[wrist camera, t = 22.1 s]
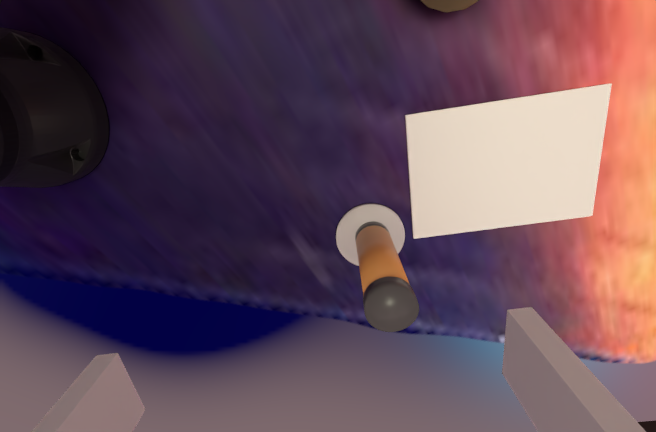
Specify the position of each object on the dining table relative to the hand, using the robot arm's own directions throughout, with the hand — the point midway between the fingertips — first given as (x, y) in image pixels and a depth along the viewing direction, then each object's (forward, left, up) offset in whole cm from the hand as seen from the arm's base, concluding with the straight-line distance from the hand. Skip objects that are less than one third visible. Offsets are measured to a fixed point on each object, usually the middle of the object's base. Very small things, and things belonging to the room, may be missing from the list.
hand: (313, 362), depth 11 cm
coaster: (+4, -8, -27) cm, 28 cm away
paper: (+19, -2, -27) cm, 33 cm away
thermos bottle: (+4, -8, -26) cm, 27 cm away
